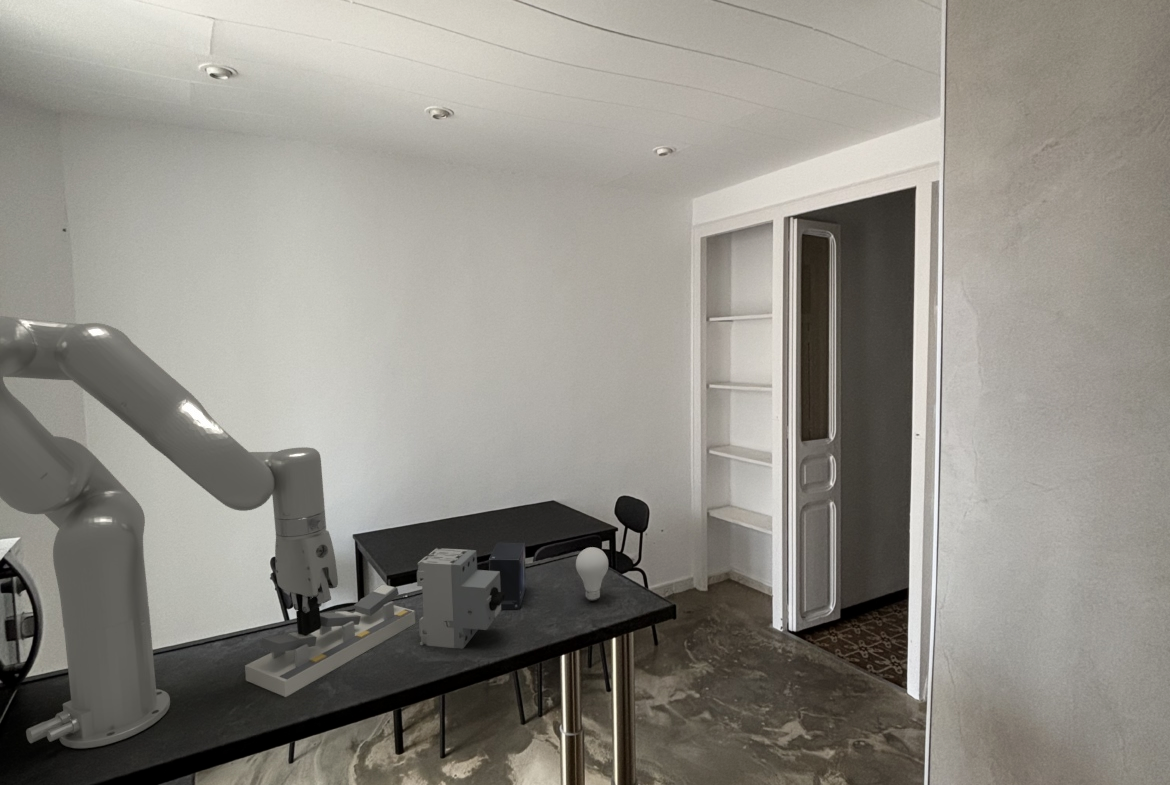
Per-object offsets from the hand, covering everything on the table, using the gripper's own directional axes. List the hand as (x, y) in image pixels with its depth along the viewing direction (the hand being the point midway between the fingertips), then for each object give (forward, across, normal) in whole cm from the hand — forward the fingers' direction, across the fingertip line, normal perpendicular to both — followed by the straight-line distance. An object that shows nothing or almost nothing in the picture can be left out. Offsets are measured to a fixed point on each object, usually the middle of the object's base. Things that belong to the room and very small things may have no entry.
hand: (309, 631), depth 101 cm
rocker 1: (0, 0, +4) cm, 4 cm away
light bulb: (+7, -30, -43) cm, 53 cm away
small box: (+7, -14, -36) cm, 39 cm away
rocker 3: (0, 0, -14) cm, 14 cm away
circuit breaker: (+6, -17, -19) cm, 26 cm away
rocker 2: (0, 0, -5) cm, 5 cm away
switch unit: (+6, 0, -5) cm, 8 cm away
